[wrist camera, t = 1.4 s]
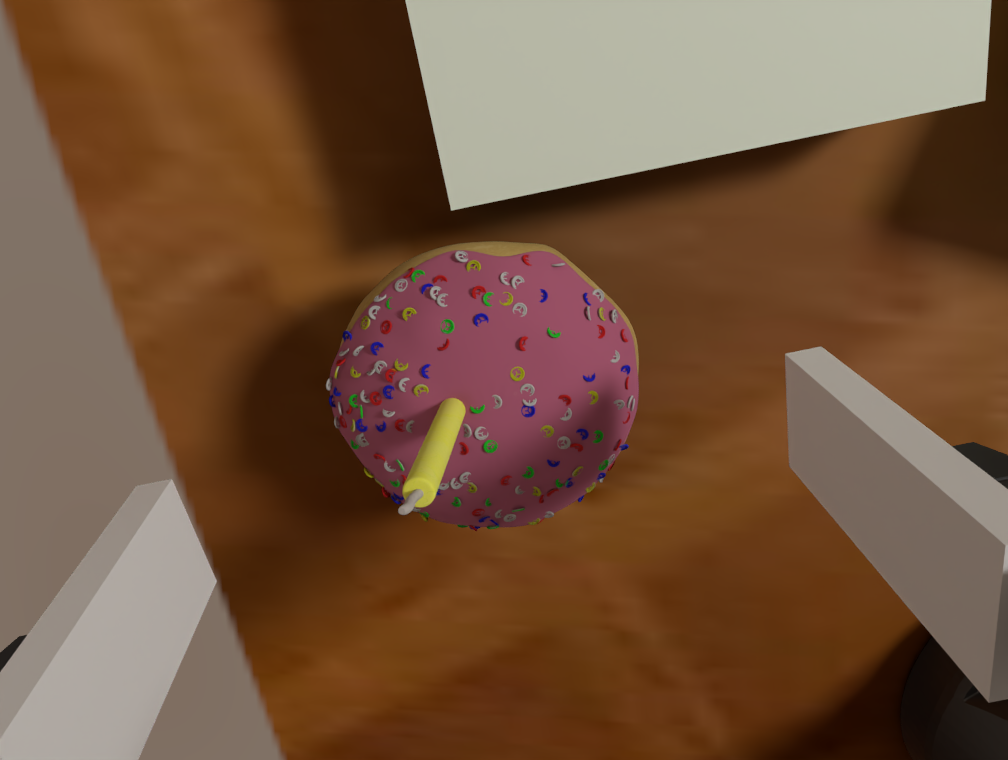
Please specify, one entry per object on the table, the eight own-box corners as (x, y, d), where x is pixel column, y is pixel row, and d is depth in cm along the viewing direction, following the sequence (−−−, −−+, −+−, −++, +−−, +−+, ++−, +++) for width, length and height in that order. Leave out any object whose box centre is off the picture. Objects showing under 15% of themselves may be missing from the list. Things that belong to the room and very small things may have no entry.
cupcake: (319, 398, 25) (214, 651, 14) (411, 164, 23) (368, 251, 11) (544, 481, 27) (606, 762, 16) (654, 273, 24) (821, 440, 13)
